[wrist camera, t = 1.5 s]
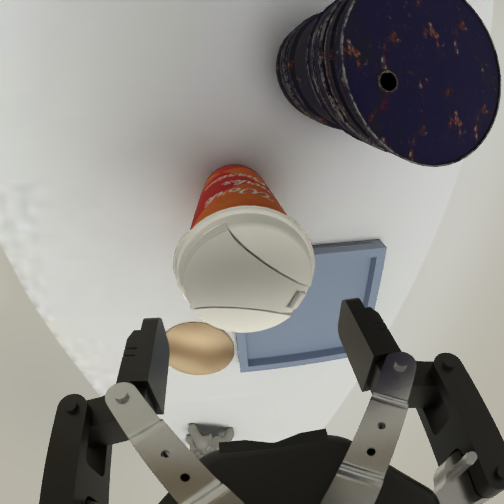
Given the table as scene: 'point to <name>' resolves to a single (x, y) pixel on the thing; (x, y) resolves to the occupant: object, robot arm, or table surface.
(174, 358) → the cork coaster
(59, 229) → the table surface
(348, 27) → the storage jar
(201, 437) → the elephant statuette
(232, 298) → the paper cup
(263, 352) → the tray
